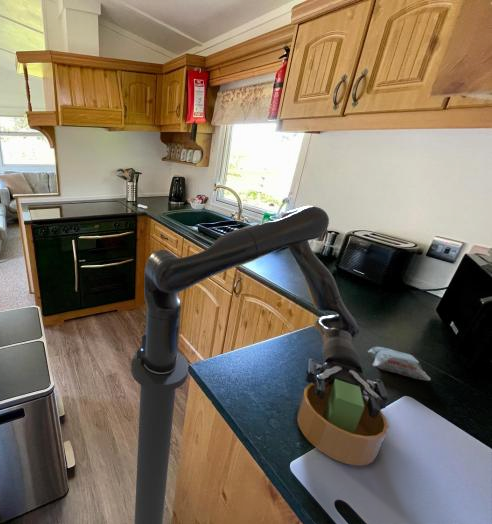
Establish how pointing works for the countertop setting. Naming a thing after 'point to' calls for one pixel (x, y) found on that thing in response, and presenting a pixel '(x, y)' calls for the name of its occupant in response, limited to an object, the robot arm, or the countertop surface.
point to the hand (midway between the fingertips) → (347, 404)
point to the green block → (344, 406)
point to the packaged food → (397, 363)
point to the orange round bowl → (340, 431)
